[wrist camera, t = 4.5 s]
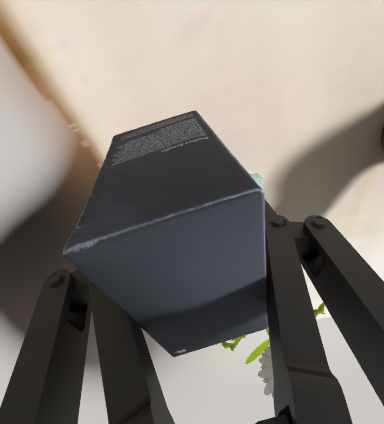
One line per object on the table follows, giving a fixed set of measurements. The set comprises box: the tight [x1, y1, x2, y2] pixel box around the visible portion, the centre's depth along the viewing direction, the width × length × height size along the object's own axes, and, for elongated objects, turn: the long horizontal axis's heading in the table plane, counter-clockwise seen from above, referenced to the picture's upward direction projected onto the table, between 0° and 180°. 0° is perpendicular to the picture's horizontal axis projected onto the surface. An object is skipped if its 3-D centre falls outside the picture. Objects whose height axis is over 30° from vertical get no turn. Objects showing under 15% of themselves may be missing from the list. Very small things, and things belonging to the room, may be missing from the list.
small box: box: [63, 111, 268, 357], centre depth 13 cm, size 11×6×10 cm, turn 15°
